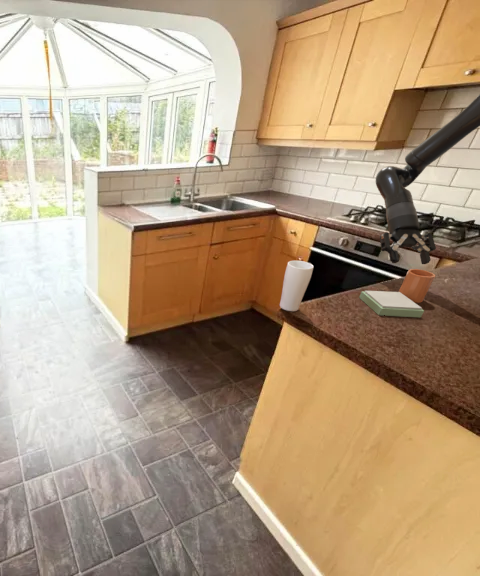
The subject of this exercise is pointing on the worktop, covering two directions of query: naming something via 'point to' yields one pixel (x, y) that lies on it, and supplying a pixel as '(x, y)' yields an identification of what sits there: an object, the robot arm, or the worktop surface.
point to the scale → (391, 304)
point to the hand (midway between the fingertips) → (410, 262)
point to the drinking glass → (295, 284)
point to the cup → (416, 284)
